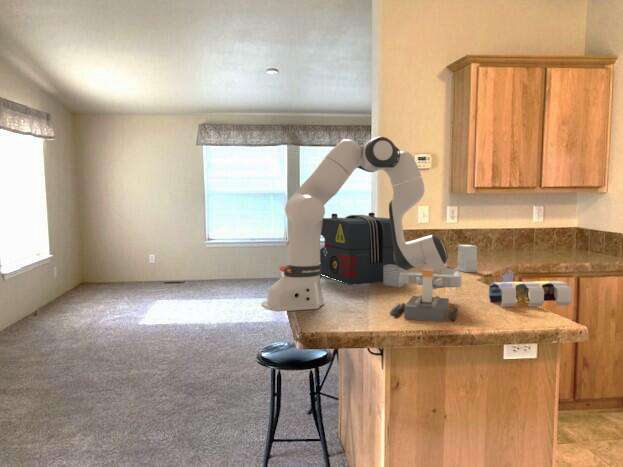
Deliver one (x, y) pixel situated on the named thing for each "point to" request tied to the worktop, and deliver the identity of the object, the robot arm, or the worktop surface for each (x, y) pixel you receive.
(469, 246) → the small box
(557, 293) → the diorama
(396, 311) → the cords
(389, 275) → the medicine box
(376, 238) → the power unit
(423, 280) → the lever
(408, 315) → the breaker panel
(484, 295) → the worktop surface
